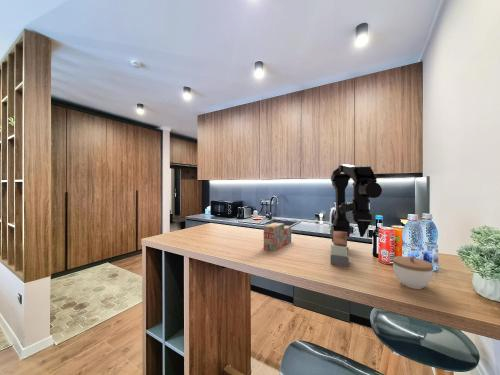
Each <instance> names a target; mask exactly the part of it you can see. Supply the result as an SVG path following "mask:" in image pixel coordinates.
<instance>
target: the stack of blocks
mask: <svg viewBox="0 0 500 375" xmlns="http://www.w3.org/2000/svg"><path fill="white" fill-rule="evenodd" d="M289 242H290V243H291V242H292V225H291V226H290V225H285V223H282V222H272V223H270V224H266V225H263V250H267V251H272V252H275V251H277V250H278V249H279V250H280V248H282V247H284V246H286V245H288V244H290V243H289Z"/></svg>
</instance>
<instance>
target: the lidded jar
mask: <svg viewBox="0 0 500 375" xmlns="http://www.w3.org/2000/svg"><path fill="white" fill-rule="evenodd" d="M392 268H393V273H394V276H395V277H396V279H397V280H398V281H399V283H400V284H401V283H402V284H401V285H403V286H404V285H405V287H407V288H409V289H413V290H414V289H415V290H422V288H423V289H424V287H427V286H428V285H429V284H430V283H431V281H432V279H433V274H434V272H433V271H434V265H433V264H432V262H428V261H427V260H424V259H422V258H421V259H420V258H417V257H414V256H412V255H411V256H400V255H399V256H394V257H393V258H392Z"/></svg>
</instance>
